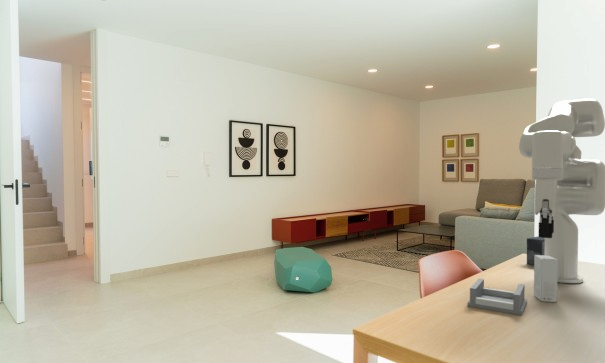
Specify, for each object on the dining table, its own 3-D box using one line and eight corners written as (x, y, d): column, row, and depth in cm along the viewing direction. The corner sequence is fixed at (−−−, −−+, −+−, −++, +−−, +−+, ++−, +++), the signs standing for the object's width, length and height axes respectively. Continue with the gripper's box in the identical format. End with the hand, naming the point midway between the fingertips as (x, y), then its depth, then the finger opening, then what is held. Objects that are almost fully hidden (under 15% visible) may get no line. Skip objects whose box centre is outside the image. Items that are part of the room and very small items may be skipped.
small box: (540, 260, 166) (540, 235, 166) (556, 263, 161) (557, 237, 161) (525, 264, 161) (525, 237, 161) (542, 267, 155) (542, 239, 155)
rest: (476, 294, 120) (476, 278, 120) (526, 302, 113) (527, 284, 113) (467, 306, 110) (467, 287, 110) (522, 315, 103) (522, 295, 103)
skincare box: (557, 302, 113) (558, 259, 113) (540, 301, 114) (541, 258, 113) (549, 296, 119) (549, 255, 119) (533, 295, 120) (533, 254, 119)
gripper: (534, 174, 124) (533, 230, 125) (529, 175, 110) (528, 238, 110) (563, 174, 120) (562, 232, 121) (562, 175, 106) (561, 241, 106)
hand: (546, 235), depth 116 cm, fingers open, 9 cm apart
